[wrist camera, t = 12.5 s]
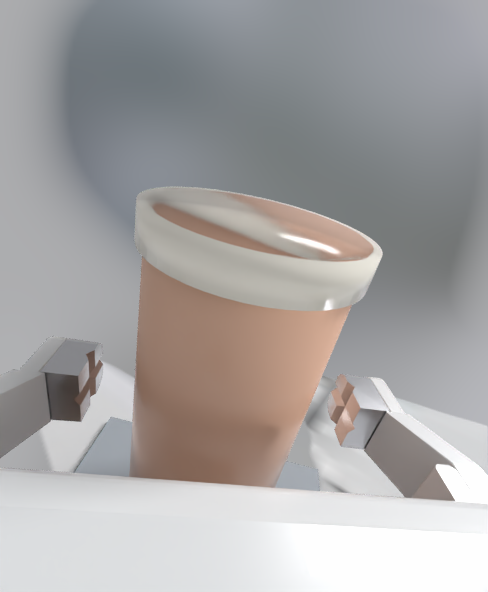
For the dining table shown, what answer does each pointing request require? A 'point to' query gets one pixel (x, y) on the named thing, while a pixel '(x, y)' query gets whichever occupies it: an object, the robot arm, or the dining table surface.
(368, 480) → the dining table surface
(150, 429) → the peach tumbler
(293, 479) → the grey mat
